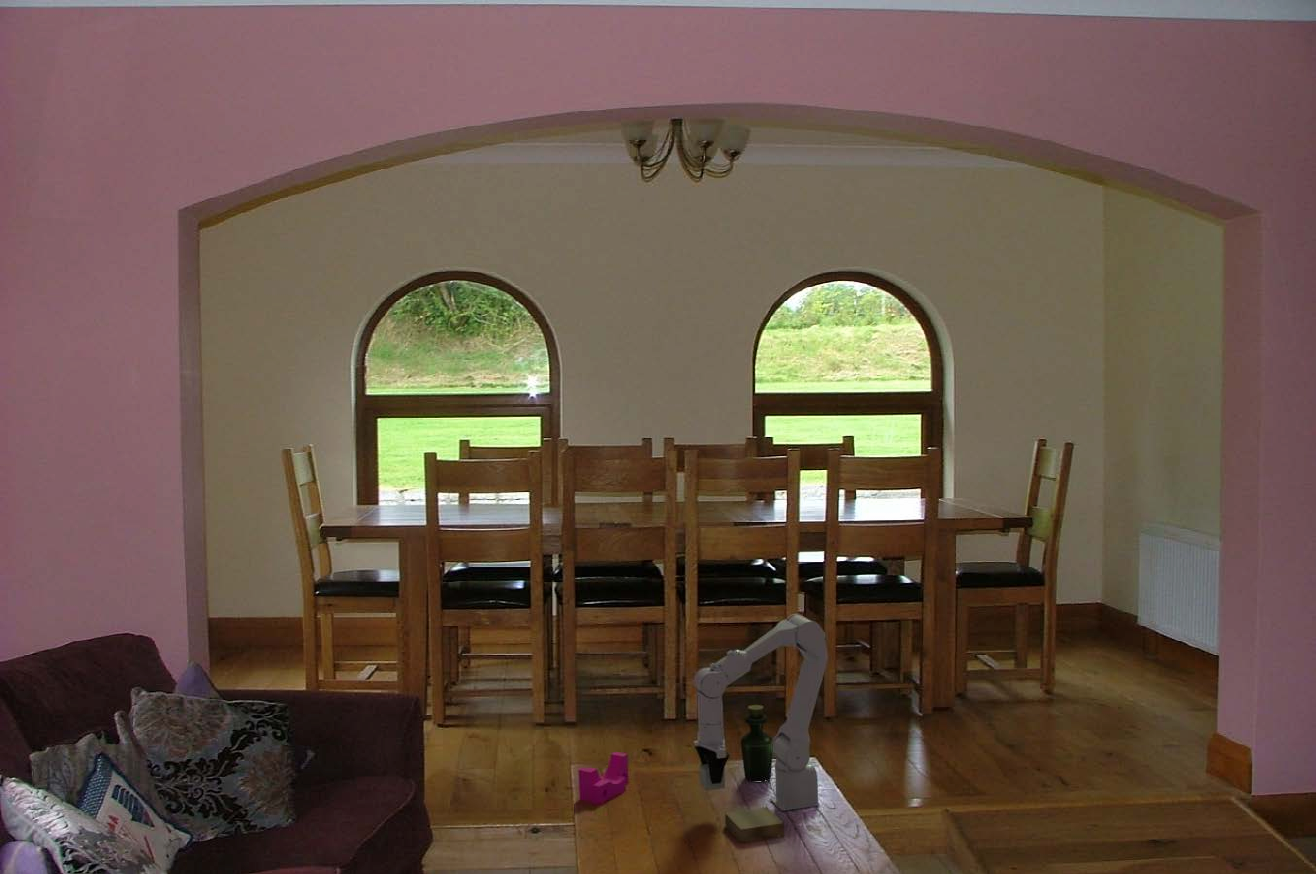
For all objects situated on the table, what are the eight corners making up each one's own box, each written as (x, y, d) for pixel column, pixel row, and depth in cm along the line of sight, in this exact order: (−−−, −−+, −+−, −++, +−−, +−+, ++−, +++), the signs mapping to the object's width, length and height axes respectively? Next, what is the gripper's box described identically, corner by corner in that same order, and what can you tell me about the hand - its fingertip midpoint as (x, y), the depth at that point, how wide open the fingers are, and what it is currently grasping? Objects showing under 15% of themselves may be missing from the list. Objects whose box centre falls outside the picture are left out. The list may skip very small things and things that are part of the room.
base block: (767, 819, 274) (766, 807, 274) (784, 836, 265) (783, 822, 265) (725, 826, 271) (725, 813, 271) (741, 843, 262) (740, 829, 262)
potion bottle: (778, 782, 298) (776, 710, 297) (746, 785, 297) (744, 713, 296) (769, 771, 306) (767, 701, 305) (737, 774, 305) (735, 704, 303)
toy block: (600, 805, 288) (599, 774, 287) (579, 800, 291) (578, 769, 291) (636, 785, 300) (635, 755, 299) (616, 781, 303) (615, 751, 303)
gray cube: (718, 781, 281) (717, 762, 280) (724, 788, 276) (724, 768, 276) (700, 784, 279) (699, 765, 279) (706, 790, 275) (705, 771, 275)
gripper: (684, 714, 283) (686, 771, 284) (704, 732, 269) (706, 792, 270) (713, 711, 285) (715, 767, 286) (734, 728, 271) (736, 788, 272)
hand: (712, 779), depth 278 cm, fingers closed on gray cube, 4 cm apart
